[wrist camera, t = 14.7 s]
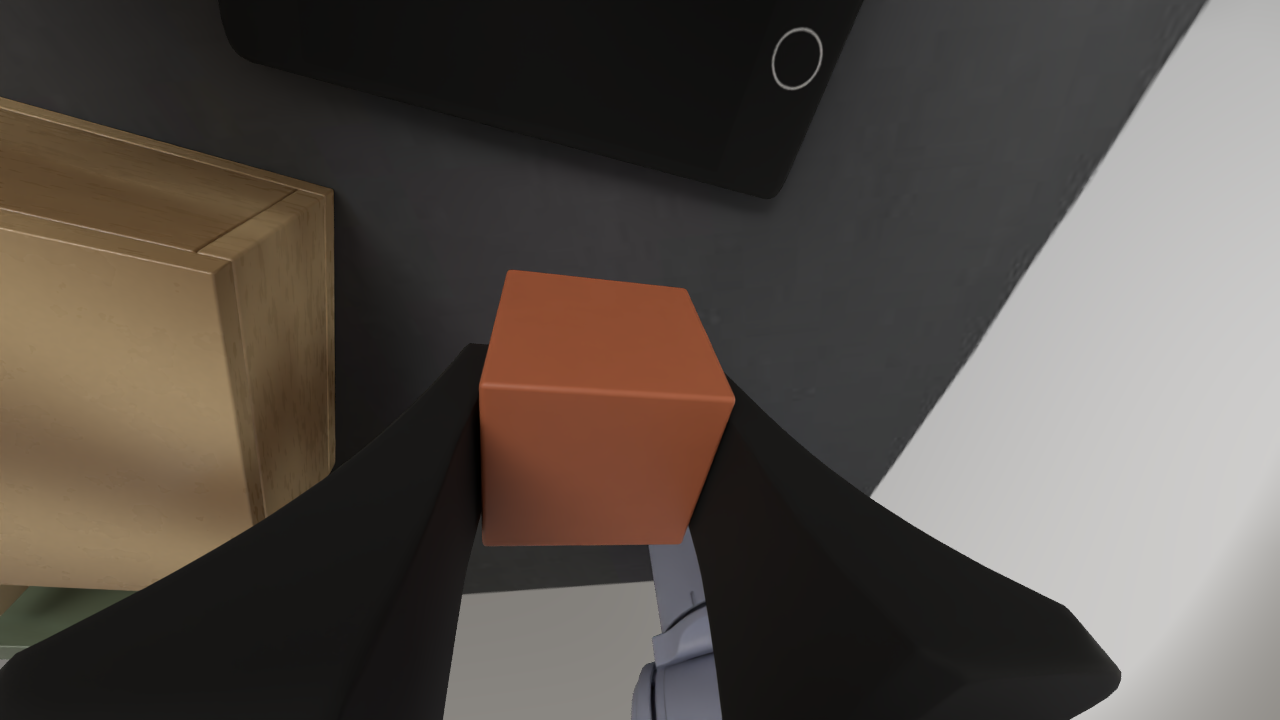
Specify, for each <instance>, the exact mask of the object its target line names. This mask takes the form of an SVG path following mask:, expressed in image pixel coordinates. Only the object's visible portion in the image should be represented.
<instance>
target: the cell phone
mask: <svg viewBox="0 0 1280 720" xmlns="http://www.w3.org/2000/svg"><path fill="white" fill-rule="evenodd" d="M862 2H863V0H218V3H219V8H220V14H221V19H222V23H223V26H224V30H225V33H226V36H227V38H228V40H229V43H230V45H231V46H232V48H233V49H234V50H235V52H236V53H237V54H239V55H240V56H241V57H243V58H245V59H247V60H249V61H250V62H254V63H257V64H261V65H264V66H268V67H272V68H276V69H279V70H283V71H287V72H291V73H294V74H298V75H302V76H306V77H309V78H313V79H317V80H321V81H324V82H328V83H332V84H336V85H339V86H343V87H347V88H351V89H354V90H358V91H362V92H366V93H369V94H373V95H377V96H381V97H384V98H388V99H392V100H396V101H399V102H403V103H407V104H411V105H414V106H418V107H422V108H426V109H429V110H433V111H437V112H441V113H444V114H448V115H452V116H456V117H459V118H463V119H467V120H471V121H474V122H478V123H482V124H486V125H489V126H493V127H497V128H501V129H504V130H508V131H512V132H516V133H519V134H523V135H527V136H531V137H534V138H538V139H542V140H546V141H549V142H553V143H557V144H561V145H564V146H568V147H572V148H576V149H579V150H583V151H587V152H591V153H595V154H598V155H602V156H606V157H610V158H613V159H617V160H621V161H625V162H628V163H632V164H636V165H640V166H643V167H647V168H651V169H655V170H658V171H662V172H666V173H670V174H673V175H677V176H681V177H685V178H688V179H692V180H696V181H700V182H703V183H707V184H711V185H715V186H718V187H722V188H726V189H730V190H733V191H737V192H741V193H745V194H748V195H752V196H756V197H760V198H764V199H770V198H773V197H775V196H776V195H777V194H778V192H779V191H780V190H781V188H782V186H783V184H784V183H785V181H786V179H787V176H788V174H789V172H790V169H791V167H792V165H793V162H794V160H795V158H796V155H797V153H798V151H799V148H800V146H801V144H802V141H803V139H804V137H805V135H806V132H807V130H808V128H809V125H810V123H811V121H812V118H813V116H814V114H815V111H816V109H817V107H818V104H819V102H820V100H821V97H822V95H823V93H824V91H825V88H826V86H827V84H828V81H829V79H830V77H831V74H832V72H833V70H834V67H835V65H836V63H837V60H838V58H839V56H840V53H841V51H842V49H843V47H844V44H845V42H846V40H847V37H848V35H849V33H850V30H851V28H852V26H853V23H854V21H855V19H856V16H857V14H858V12H859V9H860V7H861V5H862Z"/></svg>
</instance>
